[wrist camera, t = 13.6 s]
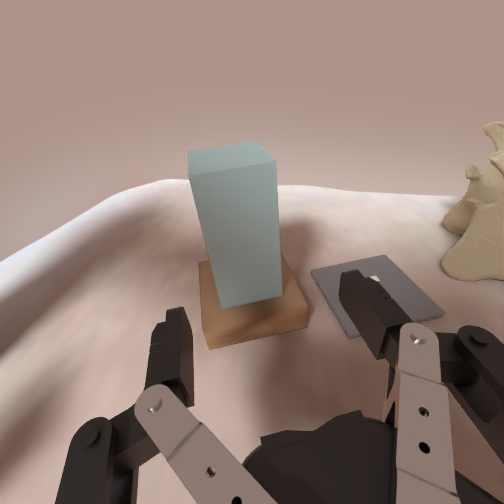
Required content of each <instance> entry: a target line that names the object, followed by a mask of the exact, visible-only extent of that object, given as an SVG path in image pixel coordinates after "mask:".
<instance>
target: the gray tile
mask: <svg viewBox="0 0 504 504" xmlns="http://www.w3.org/2000/svg"><path fill="white" fill-rule="evenodd" d="M355 269H357V270H359V271H360V272H361V274H362V275H363V276H364V277H365V278H366V277H370V278H372V279H374V280H375V281H377V282H379V283H380V284H381V285H382V287H383V288H384V289H385V290H386V292H388V293H389V295H390V296H391V298H393V299H394V300H395V301H396V303H397V304H398V305H399V306H400V307H401V308H402V309H403V310H404V312H405V313H406V314H407V315H408V316H409V317H410V318H411V320H412V321H413V322H414V323H416V322H420V321H424V320H428V319H432V318H436V317H440V316H444V314H445V312H444V311H443V310H442V309H441V308H440V307H439V306H437V305H436V304H435V303H434V302H433V301H432V300H431V299H430V298H429V297H428V296H427V295H426V294H425V293H424V292H423V291H422V290H421V289H420V288H419V287H418V286H417V285H416V284H415V283H414V282H413V281H412V280H411V279H410V278H409V277H408V276H407V275H405V274H404V273H403V272H402V271H401V270H400V269H399V268H398V267H397V266H396V265H395V264H394V263H393V262H392V261H391V260H390V259H389V258H388V257H387V256H386V255H381V256H376V257H371V258H367V259H362V260H357V261H352V262H348V263H343V264H338V265H334V266H329V267H324V268H320V269H315V270H311V275H312V276H313V278H314V280H315V282H316V283H317V285H318V287H319V288H320V290H321V292H322V293H323V295H324V297H325V299H326V300H327V302H328V304H329V305H330V307H331V309H332V310H333V312H334V314H335V316H336V317H337V319H338V321H339V322H340V324H341V326H342V327H343V329H344V331H345V333H346V334H347V336H348V338H349V339H350V338H354V337H358V336H361V335H360V333H359V332H358V330H357V328H356V327H355V325H354V324H353V322H352V321H351V319H350V318H349V316H348V314H347V313H346V311H345V310H344V308H343V307H342V305H341V303H340V300H339V295H338V293H339V285H340V277H341V273H342V272H345V271H350V270H355Z"/></svg>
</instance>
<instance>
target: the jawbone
mask: <svg viewBox="0 0 504 504" xmlns="http://www.w3.org/2000/svg"><path fill="white" fill-rule="evenodd" d="M483 131H484V132H485V133H486V135H487V136H489V137H490V138H491V139H492V140H493V142H494V144H495V147H496V152H495V153H493V154H491V155H490V156H489V160H490V161H491V163H492V164H491V165H490V166H489V167H488V168H487V169H478V168H477V167H476V166H475V165H473V164H469V165H468V167H467V169H466V178H467V179H470V184H469V187H468V190H467V192H466V194H465V196H464V197H463V198H462V200H461V201H460V202H459V203H458V204H457V205H456V206H454V207H453V208H452V209H451V210H450V211H449V212H448V213H447V214H446V215H445V217H444V218H443V224H444V226H445V227H446V228H447V229H448V230H449V231H450V232H452V233H454V234H457V235H462V237H461V238H460V239H459V241H458V242H457V243H456V244H455V245H454V246H453V247H452V248H451V249H450V250H449V251H448V252H447V253H446V254H445V256H444V257H443V258H442V259H441V265H442V268H443V269H444V271H445V272H446V273H447V274H448V275H449V276H451V277H452V278H454V279H457V280H462V281H477V280H482V279H486V278H491V279H498V280H503V281H504V122H501V121H494V122H491V123H488V124H486V125H485V126H484V127H483Z"/></svg>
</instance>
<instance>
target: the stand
mask: <svg viewBox="0 0 504 504" xmlns="http://www.w3.org/2000/svg"><path fill="white" fill-rule="evenodd" d="M280 253H281V251H280ZM198 264H199V282H200V299H201V317H202V329H203V332H204V335H205V338H206V341H207V344H208V347H209V350H211V349H215V348H220V347H224V346H228V345H232V344H237V343H241V342H245V341H250V340H254V339H258V338H262V337H267V336H271V335H275V334H279V333H284V332H288V331H292V330H296V329H301V328H305V327H307V303H306V301H305V299H304V297H303V295H302V293H301V291H300V289H299V287H298V285H297V283H296V281H295V279H294V277H293V275H292V273H291V271H290V269H289V267H288V265H287V263H286V261H285V259H284V257H283V255H282V253H281V273H282V293H283V296H280V297H275V298H270V299H266V300H261V301H257V302H252V303H247V304H243V305H238V306H233V307H229V308H224V309H222V308H221V304H220V300H219V296H218V292H217V288H216V284H215V280H214V276H213V272H212V268H211V264H210V260H209V261H204V262H199V263H198Z"/></svg>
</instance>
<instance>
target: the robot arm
mask: <svg viewBox="0 0 504 504" xmlns="http://www.w3.org/2000/svg"><path fill="white" fill-rule="evenodd" d="M338 295H339V300H340V303H341V305H342V307H343V308H344V310H345V311H346V313H347V314H348V316H349V318H350V319H351V321H352V322H353V324H354V325H355V327H356V328H357V330H358V332H359V333H360V335H361V336H362V338H363V339H364V341H365V342H366V344H367V346H368V347H369V349H370V350H371V352H372V353H373V355H374V356H375V358H376V360H379V359H383V358H386V360H387V361H388V368H387V379H386V389H385V400H384V407H383V412H382V416H381V421H380V420H376V419H373V418H367V417H363V415H362V413H361V411H360V410H358V411H354V412H351V413H347V414H343V415H340V416H336V417H335V418H333V419H332V420H330V421H329V422H327V423H326V424H324V425H322V426H321V427H319V428H318V429H316V430H314V431H291V430H285V431H281V432H278V433H274V434H270V435H267V436H263V437H260V438H261V443H262V444H261V445H260V446H258V447H257V448H256V449H254V450H253V451H252V452H251V453H250V454H249V455H248V456H247V457H246V459H245V460H244V462H243V463H242V465H241V464H240V462H239V461H238V460H237V459H236V458H235V457H234V456H233V455H232V454H231V453H230V452H229V450H228V449H227V448H226V447H225V446H224V445H223V444H222V443H221V442H220V441H219V440H218V438H217V437H216V436H215V435H214V434H213V433H212V432H211V431H210V430H209V429H208V428H207V427H206V426H205V425H204V424H203V423H202V422H199V421H198V420H197V419H196V418H195V417H194V416H193V414H192V413H191V412H190V411H189V410H188V409H187V408H188V407H192V406H194V367H193V335H192V329H191V326H190V323H189V320H188V318H187V315H186V312H185V310H184V307H178V308H173V309H169V310H167V311H166V322H161V323H157V325H156V327H155V329H154V330H153V332H152V336H151V343H150V344H151V346H150V351H149V352H150V354H149V359H148V367H147V374H146V382H145V388H144V391H143V392H142V393H141V395H140V396H139V397H138V399H137V401H136V403H135V404H134V405H133V406H131V407H130V408H129V409H127V410H125V411H124V412H122V413H120V414H119V415H117V416H115V417H113V418H112V419H110V420H108V419H107V418H104V417H97V418H94V419H91V420H89V421H88V422H86V423H85V424H84V425H82V426H81V427H80V428H79V429H78V431H77V432H76V433H75V435H74V436H73V438H72V440H71V443H70V446H69V450H68V454H67V458H66V462H65V466H64V470H63V474H62V478H61V482H60V485H59V489H58V493H57V497H56V501H55V504H136V502H137V487H138V472H139V466H141V465H142V464H144V463H145V462H147V461H148V460H150V459H151V458H152V457H154V456H155V455H157V454H158V453H160V452H161V453H162V454H163V455H164V457H165V458H166V460H167V462H168V463H169V465H170V466H171V468H172V469H173V470H174V472H175V473H176V475H177V476H178V477H179V479H180V480H181V482H182V483H183V484H184V486H185V487H186V488H187V490H188V491H189V493H190V494H191V495H192V497H193V498H194V500H195V501H196V502H197V504H503V503H502V502H501V501H499V500H498V499H496V498H495V497H493V496H492V495H490V494H489V493H488V492H486V491H485V490H483V489H482V488H480V487H479V486H478V485H476V484H475V483H473V482H472V481H470V480H469V479H468V478H466V477H465V476H463V475H462V474H460V473H459V472H457V471H456V470H455V469H454V460H453V448H452V436H451V423H450V411H449V399H448V390H447V388H448V389H449V390H450V392H451V393H452V394H453V396H454V397H455V399H456V400H457V401H458V403H459V404H460V405H461V407H462V408H463V409H464V411H465V412H466V413H467V415H468V416H469V418H470V419H471V420H472V422H473V423H474V424H475V426H476V427H477V428H478V430H479V431H480V432H481V434H482V435H483V437H484V438H485V439H486V441H487V442H488V443H489V445H490V446H491V447H492V449H493V450H494V451H495V453H496V454H497V456H498V457H499V458H500V460H501V461H502V462H503V464H504V344H503V343H502V342H501V341H499V340H498V339H497V338H496V337H495V336H494V335H493V334H492V333H490V332H489V331H487V330H485V329H483V328H480V327H477V326H463V327H461V328H460V329H459V331H458V333H457V334H456V333H438V332H433V331H432V330H431V329H430V328H428V327H426V326H424V325H422V324H419V323H414V322H413V321H412V320H411V318H410V317H409V316H408V315H407V314H406V313H405V312H404V310H403V309H402V308H401V307H400V306H399V305H398V304H397V303H396V301H395V300H394V299H393V298H391V296H390V295H389V293H388V292H386V290H385V289H384V288H383V287H382V285H381V284H380V283H379V282H377V281H375V280H374V279H372V278H370V277H366V278H365V277H364V276H363V275H362V274H361V272H360V271H359V270H357V269H355V270H350V271H345V272H342V273H341V277H340V285H339V293H338ZM441 382H443V383H444V384H445V385H444V384H442V383H441ZM446 386H447V387H446Z"/></svg>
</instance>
